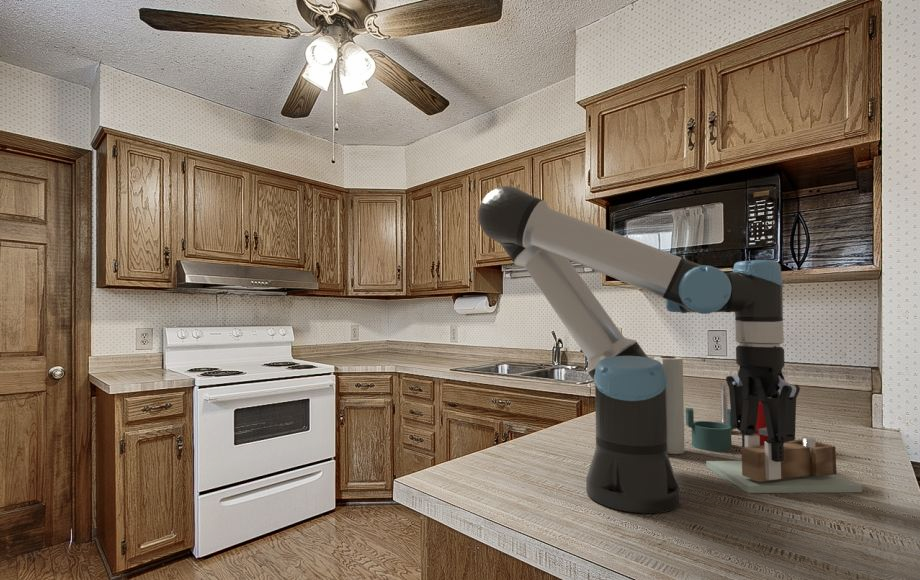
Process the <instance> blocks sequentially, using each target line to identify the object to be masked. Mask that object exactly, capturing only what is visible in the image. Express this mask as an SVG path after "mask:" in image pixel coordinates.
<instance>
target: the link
mask: <svg viewBox="0 0 920 580" xmlns="http://www.w3.org/2000/svg"><path fill="white" fill-rule="evenodd" d="M815 446H816V447H813V448H811V454H812V476H815V477H820V476H828V475H835V474H836V475H838V474H837V454H836V452H837V451H836V450H837V449H836V446H834V445H830V444H827V443H823V442H819V441H816V440H815ZM783 447H784V460H783V461H781V479H784V478H792V477H800V476H807V475H811V463H810V447H807V446H803V445H802V438H800V439H795V440H794V441H788V442H787V443H784V445H783ZM740 451H741V452H740V453H741V461H742V475H743V476H745V477H748V478H751V479H753V480H756V481H758V482H761V481H769V480H767V479H766V477H765V445H761V446H752V447H742V446H741V450H740ZM775 480H776V479H775Z"/></svg>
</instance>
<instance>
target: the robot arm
mask: <svg viewBox="0 0 920 580" xmlns="http://www.w3.org/2000/svg"><path fill="white" fill-rule="evenodd" d="M477 212H478V215H477V216H478V217H477V218H478V223H479V225H480V228H481V230H482V231H483V233H484V235H486V236H487V237H488V238H489V239H491V240H493V241H494V242H496V243H499V244H500V245H501V246H502V248H503V249H504V251H505V253H506V254H507V255H508V257H509V258H510V260H511V261H512V263H513V264H514V265H515V266H519V267H523V268H525V269H526V271H527V272H528V274H529V275H530V277H531V278H532V280H533V281H534V283H535V284H536V286H537V287H538V288H539V290H540V291H541V293H542V294H543V296H544V297H545V298H546V300H547V301H548V303H549V304H550V306H551V307H552V309H553V310H554V312H555V314H557V317H558V318H559V319H560V321H561V323H563V325H564V326H565V328H566V330H567V331H568V332H569V334H570V335H571V337H572V338H573V340H574V342H576V344H577V345H578V347H579V348H580V350H581V352H582V353H583V355H584V356H585V357H586V359H587V362H588V364H587V368H586V372H587V374H588V375H589V376H590V377H591V379H592V380H593V382H594V389H595V390H594V391H595V395H594V397H595V399H594V401H595V450H594V453H593V456H592V459H591V462H590V465H589V468H588V472H587V474H586V475H587V476H586V479H585V480H586V481H585V483H586V488H585V490H586V494H587V496H588V497H589V498H590V499H591V500H592V501H595V502H596V503H598V504H599V505H603V506H605V507H608V508H610V509H614V510H619V511H623V512H630V513H636V514H660V513H665V512H669V511H673V510H675V509H676V508H677V507H678V506H679V505H680V499H681V498H680V488H679V484H678V481H677V478H676V475H675V472H674V469H673V466H672V463H671V461H670V459H669V455H668V453H667V417H666V385H667V377H666V375H665V368H664V366H663V365H662V363H660V362H659V361H657V360H654V358H651V357H648V354H646V353H645V351H644V349H643V348H642V347H641V346H640V344H639V343H638V342H637V340H635V339H631V338H627V337H625V336H624V335H623V333H622V332H621V331H620V330H619V328H618V327H617V325H616V324H615V323H614V321H613V320H612V318H611V316H610V315H609V314H608V313H607V311H606V310H605V308H604V307H603V305H602V304H601V303H600V301H599V300H598V299H597V297H596V296H595V295H594V292H592V290H591V289H590V287H589V286H588V285H587V283H586V282H585V281H584V279H583V278H582V276H581V274H580V273H579V272H578V271H577V269H576V268H575V267H574V265H573V264H572V262H573V263H575V264H578V265H581V266H583V267H586V268H589V269H591V270H593V271H596V272H599V273H601V274H604V275H605V276H609V277H610V278H614V279H615V280H618V281H621V282H623V283H625V284H628V285H631V286H633V287H634V288H638V289H639V290H640V289H641V290H643V291H645V292H648V293H650V294H653V295H655V296H657V297H660V298H663V299H665V308H666V310H667V311H668V312H670V313H681V314H687V313H698V314H701V315H704V314H705V315H707V314H711V313H734V317H735V318H734V320H735V324H734V325H735V342H736V343H739V345H737V346H736V347H735V363H736V364H737V365H738V366H739V369H738V371H737V373H736V374H735V375H730V376H729V375H728V376H726V377H725V381H726V385H727V386H728V392H729V393H728V394H729V402H730V403H729V405H730V409H731V420H732V427H733V428H734V429H733V430H738V431H739V432H740V434H741V442H742V443H741V444H742V445H741V448H742V447H752V446H760V437H759V435H753V434H755V433H758V432H759V431H757V430H756V423H757V416H758V408H759V401H760V402H761V403H762V405H763V410H764V416H765V422H766V427H767V433H768V439H766V441H765V442H764V444H765V477H766V479H767V480H775V479H781V461H783V460H784V447H783V445H784V442H788V441H794V440H796V420H797V417H796V415H797V398H798V396H799V393H800V389H801V388H800V386H799V385H797V384H791V383H789V382H788V381H786V379H785V377H784V374H783V368H784V367H785V348H784V347H783V346H780V345H783V344H784V341H785V340H784V339H785V338H784V318H783V317H784V315H783V314H784V307H783V306H784V305H783V303H784V302H783V301H784V300H783V298H784V297H783V287H784V284H783V278H782V267H781V264H780V263H779V262H777V261H775V260H770V259H756V260H755V259H754V260H743V261H742V260H741V261H737V262H735V263H734V265H733V269H732V271H728V272H724V271H722V270H721V269H720V268H718V267H715V266H712V265H707V264H706V265H704V264H703V265H702V264H700V263H697V262H695V261H692V260H689V259H686V258H683V257H682V256H677V255H675V254H672V253H670V252H668V251H666V250H662V249H661V248H660V249H659V248H657V247H654V246H651V245H648V244H646V243H643V242H641V241H638V240H636V239H633V238H630V237H627V236H624V235H622V234H619V233H617V232H614V231H611V230H608V229H605V228H603V227H600V226H597V225H596V224H593V223H590V222H587V221H585V220H581V219H579V218H577V217H574V216H571V215H568V214H565V213H563V212H560V211H557V210H555V209H552V208H550V207H549V205H548V202H547V201H546V200H543V199H542V198H538V197H536V196H533V195H531V194H529V193H527V192H525V191H523V190H522V189H519V188H518V187H515V186H511V185H504V186H503V185H502V186H499V187H496V188H493V189H491V190H490V191H489V192H488V193H487V194H485V196H484V197H483V199H482V200H481V202H480V204H479V208H478V211H477ZM768 397H771V398H768ZM776 434H777V435H776Z"/></svg>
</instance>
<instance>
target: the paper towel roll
mask: <svg viewBox="0 0 920 580" xmlns="http://www.w3.org/2000/svg"><path fill="white" fill-rule="evenodd" d="M653 359H654V360H657V361H659V362H660V363H662V365H663V366H664V368H665V375H666V377H667V385H666V417H667V454H669V455H681V454H683V453H685V446H686V445H685V414H684V413H685V411H684V407H685V406H684V369H683V367H684V366H683V365H684V363H683V357H679V356H677V357H676V356H671V355H665V356H664V355H661V356H654V357H653Z"/></svg>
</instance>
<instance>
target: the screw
mask: <svg viewBox="0 0 920 580" xmlns="http://www.w3.org/2000/svg"><path fill="white" fill-rule="evenodd" d="M727 389H728V388H727V383H726V382H724V381H723V382H721V383H720V397H719V399H720V420H716V421H715V422H719V423H724V424H727V409H729V402H728V401H729V399H728V397H729V396H728V394H729V393H728V391H727Z"/></svg>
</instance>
